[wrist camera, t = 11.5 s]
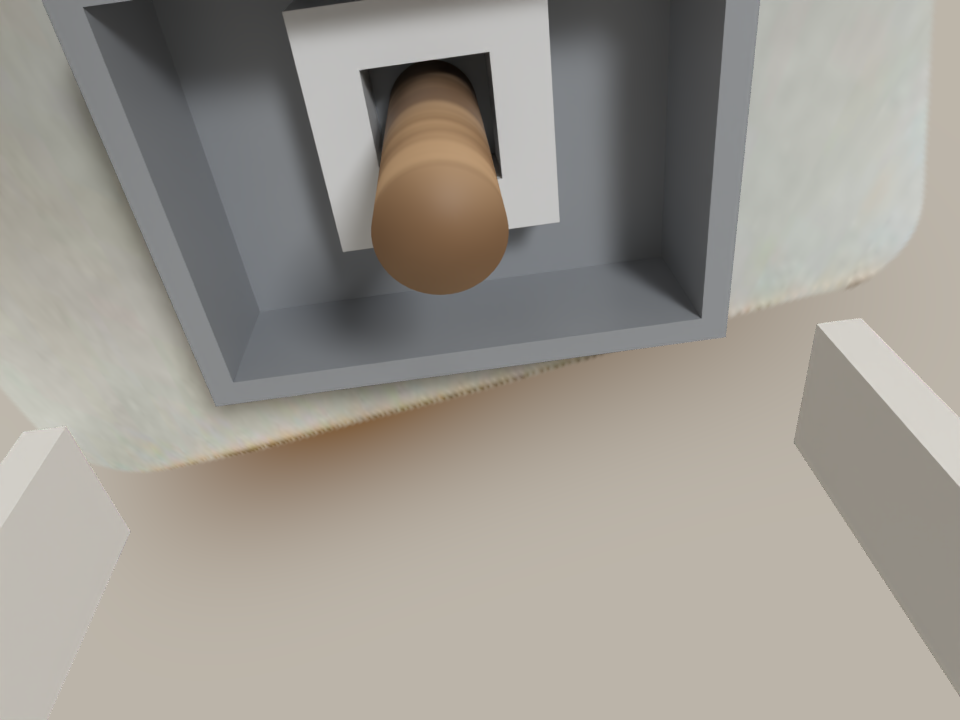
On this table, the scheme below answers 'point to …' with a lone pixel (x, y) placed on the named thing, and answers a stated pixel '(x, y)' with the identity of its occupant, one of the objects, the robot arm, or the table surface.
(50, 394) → the table surface
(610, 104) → the crate
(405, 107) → the peg
